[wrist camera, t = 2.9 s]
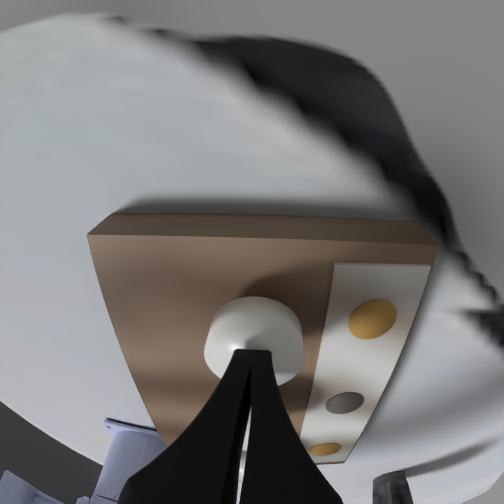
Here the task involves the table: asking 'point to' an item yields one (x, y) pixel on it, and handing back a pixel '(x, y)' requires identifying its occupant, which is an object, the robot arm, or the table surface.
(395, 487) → the beverage cup
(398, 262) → the button board
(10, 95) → the table surface
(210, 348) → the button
